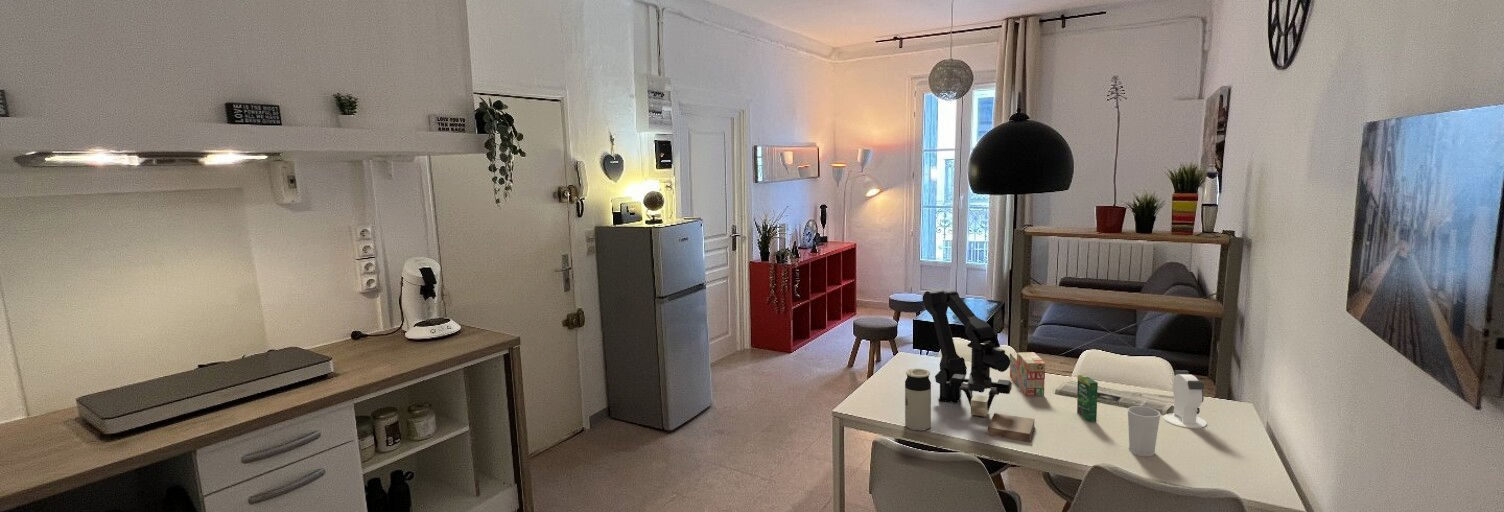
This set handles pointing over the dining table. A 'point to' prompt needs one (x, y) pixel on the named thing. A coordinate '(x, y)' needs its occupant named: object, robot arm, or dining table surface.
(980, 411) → the maple cube
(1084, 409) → the coffee box
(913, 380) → the travel mug
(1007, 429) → the walnut base slab
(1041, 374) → the stack of blocks
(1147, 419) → the cup
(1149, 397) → the newspaper
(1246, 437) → the dining table surface
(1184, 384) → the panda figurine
